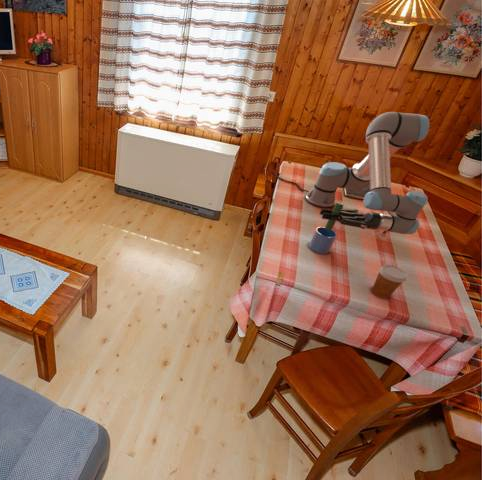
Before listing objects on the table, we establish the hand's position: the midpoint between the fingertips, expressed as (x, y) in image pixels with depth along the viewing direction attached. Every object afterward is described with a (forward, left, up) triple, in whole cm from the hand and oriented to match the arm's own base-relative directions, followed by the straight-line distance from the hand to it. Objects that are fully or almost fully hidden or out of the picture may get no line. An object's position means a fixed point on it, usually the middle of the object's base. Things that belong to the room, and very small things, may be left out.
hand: (321, 213), depth 172 cm
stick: (+4, +3, -8) cm, 9 cm away
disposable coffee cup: (+35, -9, -19) cm, 41 cm away
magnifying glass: (+22, +43, -19) cm, 52 cm away
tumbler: (+4, +3, -19) cm, 20 cm away
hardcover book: (0, +85, -19) cm, 87 cm away
